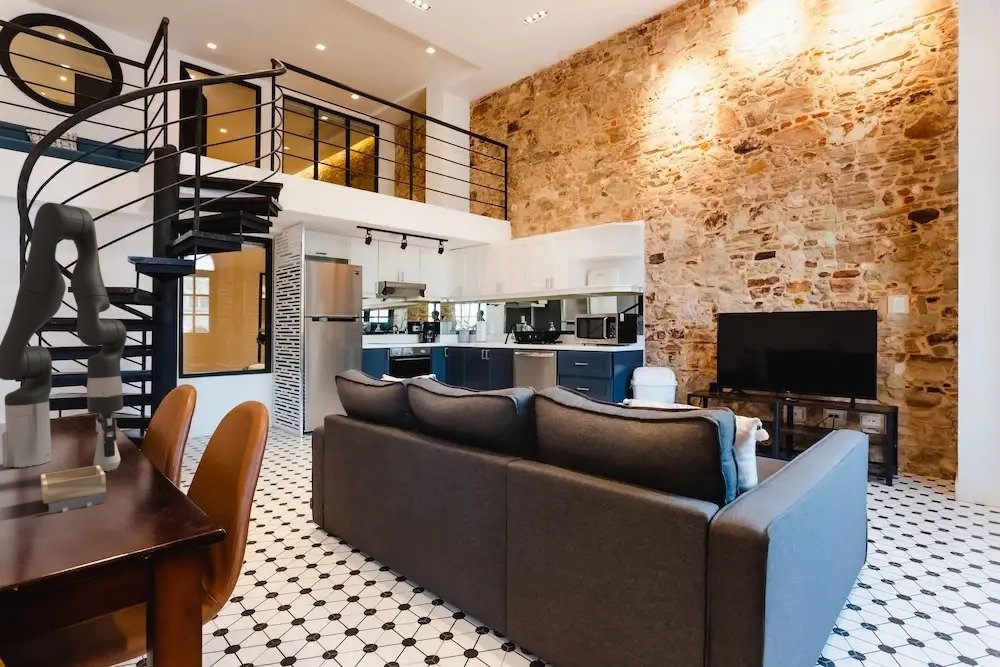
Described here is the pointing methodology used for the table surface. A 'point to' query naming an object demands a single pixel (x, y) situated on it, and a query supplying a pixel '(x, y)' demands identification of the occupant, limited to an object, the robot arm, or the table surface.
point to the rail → (76, 503)
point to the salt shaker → (100, 459)
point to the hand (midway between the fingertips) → (107, 453)
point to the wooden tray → (72, 484)
